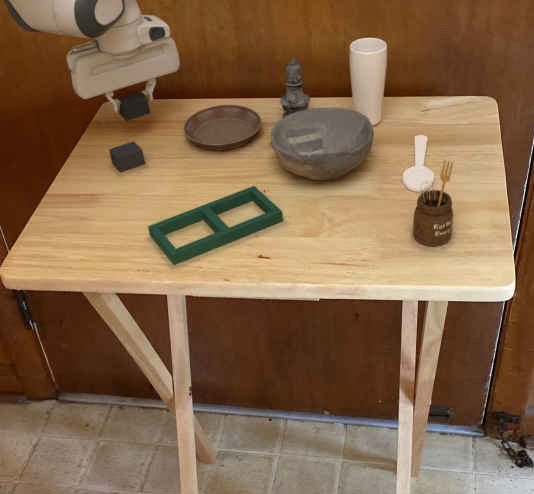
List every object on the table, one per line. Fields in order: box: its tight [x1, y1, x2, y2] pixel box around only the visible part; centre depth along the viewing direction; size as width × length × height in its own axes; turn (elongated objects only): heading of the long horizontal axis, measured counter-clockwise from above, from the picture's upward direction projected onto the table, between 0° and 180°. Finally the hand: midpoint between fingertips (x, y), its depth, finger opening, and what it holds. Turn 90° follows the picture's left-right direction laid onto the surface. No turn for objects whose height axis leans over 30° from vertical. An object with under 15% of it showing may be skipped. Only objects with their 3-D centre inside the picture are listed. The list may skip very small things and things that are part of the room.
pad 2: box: [108, 140, 146, 174], centre depth 150 cm, size 5×4×3 cm
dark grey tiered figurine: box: [279, 57, 311, 118], centre depth 155 cm, size 6×6×12 cm
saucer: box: [183, 104, 262, 151], centre depth 155 cm, size 15×15×3 cm
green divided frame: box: [147, 185, 284, 266], centre depth 133 cm, size 20×9×2 cm, turn 120°
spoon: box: [402, 134, 435, 193], centre depth 143 cm, size 5×18×1 cm, turn 170°
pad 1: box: [116, 91, 151, 122], centre depth 154 cm, size 5×4×3 cm
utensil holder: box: [412, 159, 454, 247], centre depth 124 cm, size 6×6×12 cm
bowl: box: [269, 106, 375, 181], centre depth 142 cm, size 18×18×8 cm
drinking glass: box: [348, 37, 388, 127], centre depth 151 cm, size 7×7×15 cm
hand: (133, 105), depth 154 cm, fingers closed on pad 1, 5 cm apart
